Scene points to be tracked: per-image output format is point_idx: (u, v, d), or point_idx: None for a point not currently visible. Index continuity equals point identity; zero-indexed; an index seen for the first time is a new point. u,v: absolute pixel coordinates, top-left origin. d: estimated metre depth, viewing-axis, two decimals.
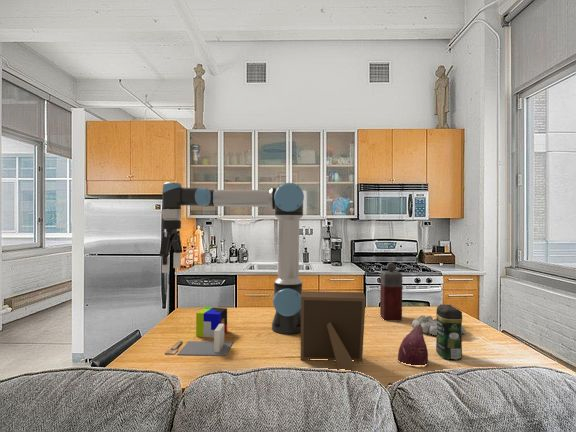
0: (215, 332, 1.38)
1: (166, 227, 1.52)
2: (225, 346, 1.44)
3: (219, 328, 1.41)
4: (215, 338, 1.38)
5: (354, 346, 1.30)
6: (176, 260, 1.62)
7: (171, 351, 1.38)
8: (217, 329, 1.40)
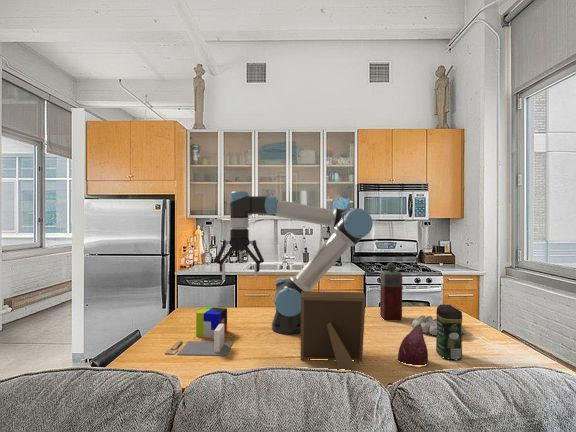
0: (215, 332, 1.38)
1: None
2: (225, 346, 1.44)
3: (219, 328, 1.41)
4: (215, 338, 1.38)
5: (354, 346, 1.30)
6: None
7: (171, 351, 1.38)
8: (217, 329, 1.40)
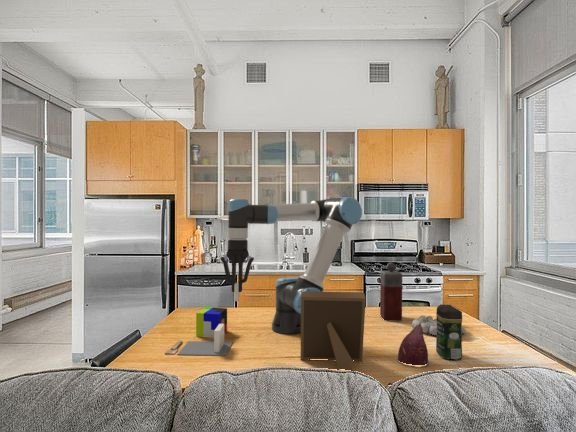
0: (215, 332, 1.38)
1: None
2: (225, 346, 1.44)
3: (219, 328, 1.41)
4: (215, 338, 1.38)
5: (354, 346, 1.30)
6: None
7: (171, 351, 1.38)
8: (217, 329, 1.40)
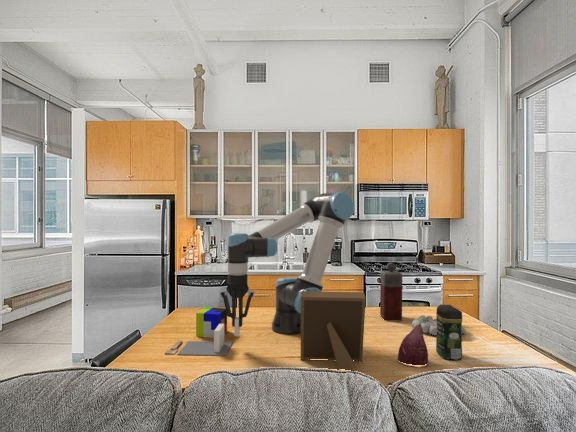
0: (215, 332, 1.38)
1: None
2: (225, 346, 1.44)
3: (219, 328, 1.41)
4: (215, 338, 1.38)
5: (355, 346, 1.30)
6: None
7: (171, 351, 1.38)
8: (217, 329, 1.40)
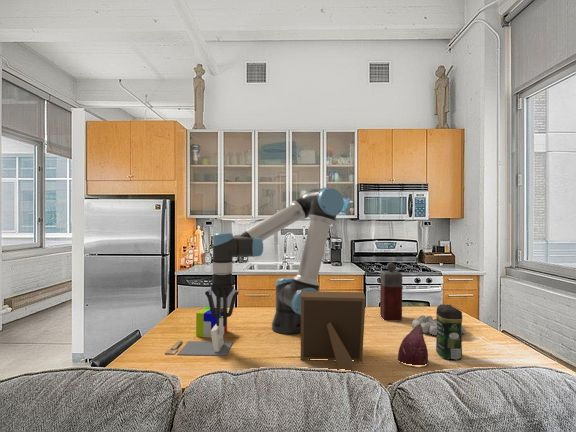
0: (212, 332, 1.38)
1: None
2: (225, 346, 1.44)
3: (215, 328, 1.41)
4: (213, 338, 1.38)
5: (354, 346, 1.30)
6: None
7: (171, 351, 1.38)
8: (213, 329, 1.40)
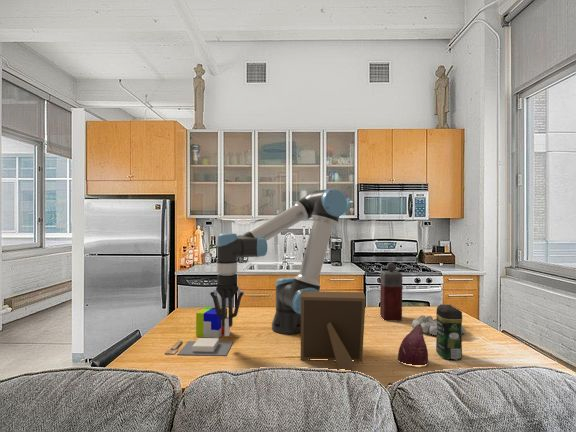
0: (193, 350, 1.38)
1: None
2: (225, 346, 1.44)
3: None
4: (199, 350, 1.38)
5: (354, 346, 1.30)
6: None
7: (171, 351, 1.38)
8: None
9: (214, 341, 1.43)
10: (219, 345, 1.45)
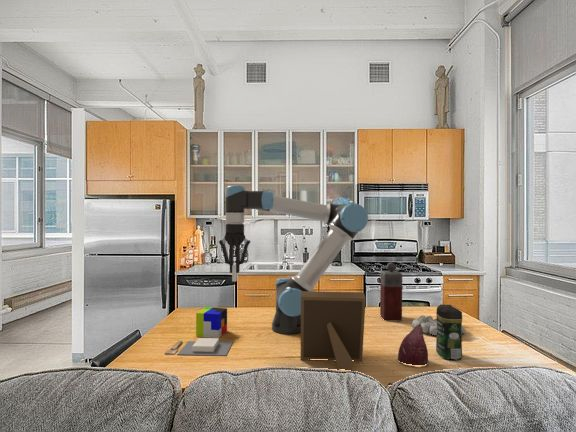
0: (193, 350, 1.38)
1: None
2: (225, 346, 1.44)
3: None
4: (199, 350, 1.38)
5: (354, 346, 1.30)
6: None
7: (171, 351, 1.38)
8: None
9: (214, 341, 1.43)
10: (219, 345, 1.45)
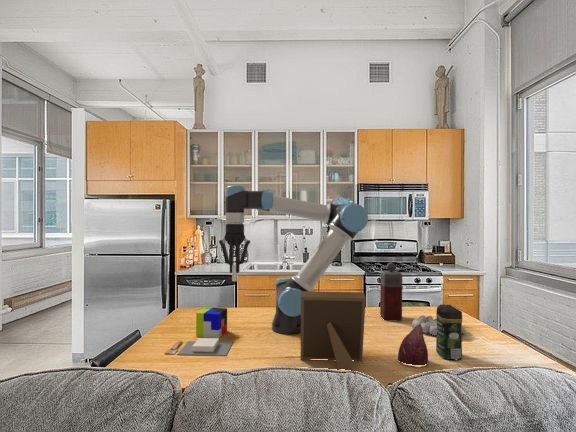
0: (193, 350, 1.38)
1: None
2: (225, 346, 1.44)
3: None
4: (199, 350, 1.38)
5: (355, 346, 1.30)
6: None
7: (171, 351, 1.38)
8: None
9: (214, 341, 1.43)
10: (219, 345, 1.45)
